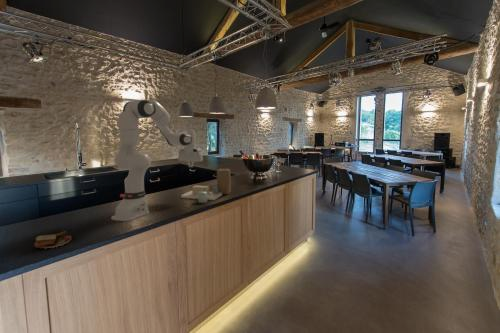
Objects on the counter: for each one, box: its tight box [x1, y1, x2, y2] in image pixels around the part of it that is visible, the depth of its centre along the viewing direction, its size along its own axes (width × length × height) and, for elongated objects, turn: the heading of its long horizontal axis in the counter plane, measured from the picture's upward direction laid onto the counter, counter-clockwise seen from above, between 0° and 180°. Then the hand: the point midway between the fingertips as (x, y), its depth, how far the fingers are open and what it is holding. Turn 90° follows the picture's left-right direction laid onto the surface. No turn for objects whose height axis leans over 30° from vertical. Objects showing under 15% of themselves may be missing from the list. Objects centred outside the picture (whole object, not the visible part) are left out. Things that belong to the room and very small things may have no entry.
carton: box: [191, 184, 210, 195], centre depth 198 cm, size 6×6×12 cm
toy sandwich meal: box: [33, 230, 72, 250], centre depth 116 cm, size 12×14×5 cm
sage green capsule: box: [197, 191, 208, 204], centre depth 183 cm, size 7×7×7 cm
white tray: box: [180, 190, 223, 201], centre depth 198 cm, size 16×28×2 cm, turn 74°
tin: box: [212, 186, 219, 194], centre depth 200 cm, size 4×4×5 cm
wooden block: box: [216, 168, 232, 195], centre depth 207 cm, size 10×10×20 cm
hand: (190, 166), depth 197 cm, fingers closed
